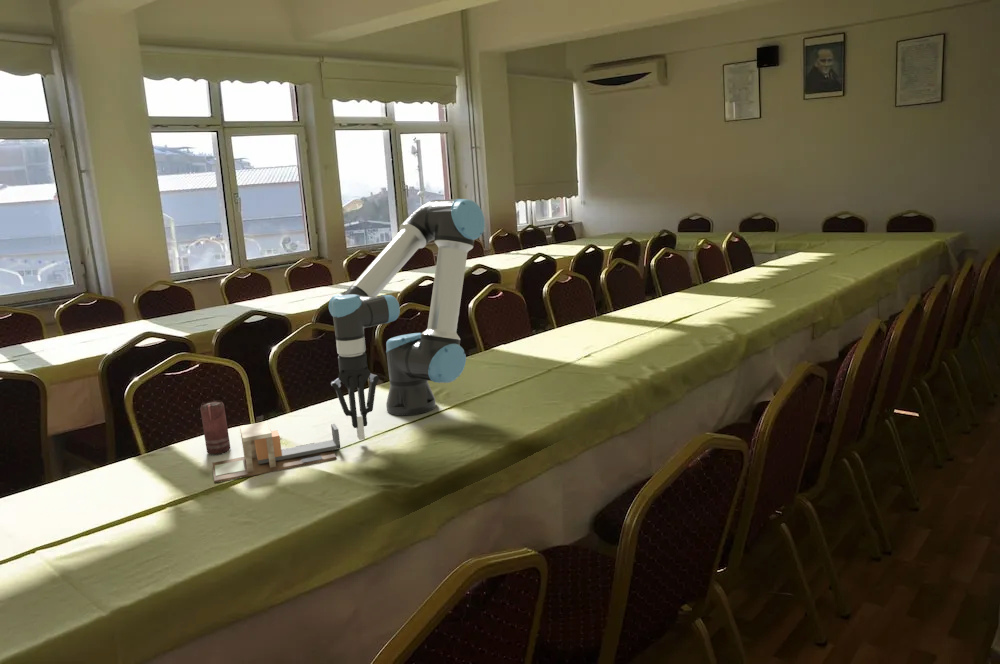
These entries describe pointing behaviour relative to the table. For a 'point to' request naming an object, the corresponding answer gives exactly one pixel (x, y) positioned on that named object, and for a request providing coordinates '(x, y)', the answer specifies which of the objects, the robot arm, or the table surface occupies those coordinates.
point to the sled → (294, 451)
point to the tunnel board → (249, 461)
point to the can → (215, 427)
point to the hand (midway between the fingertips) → (361, 438)
